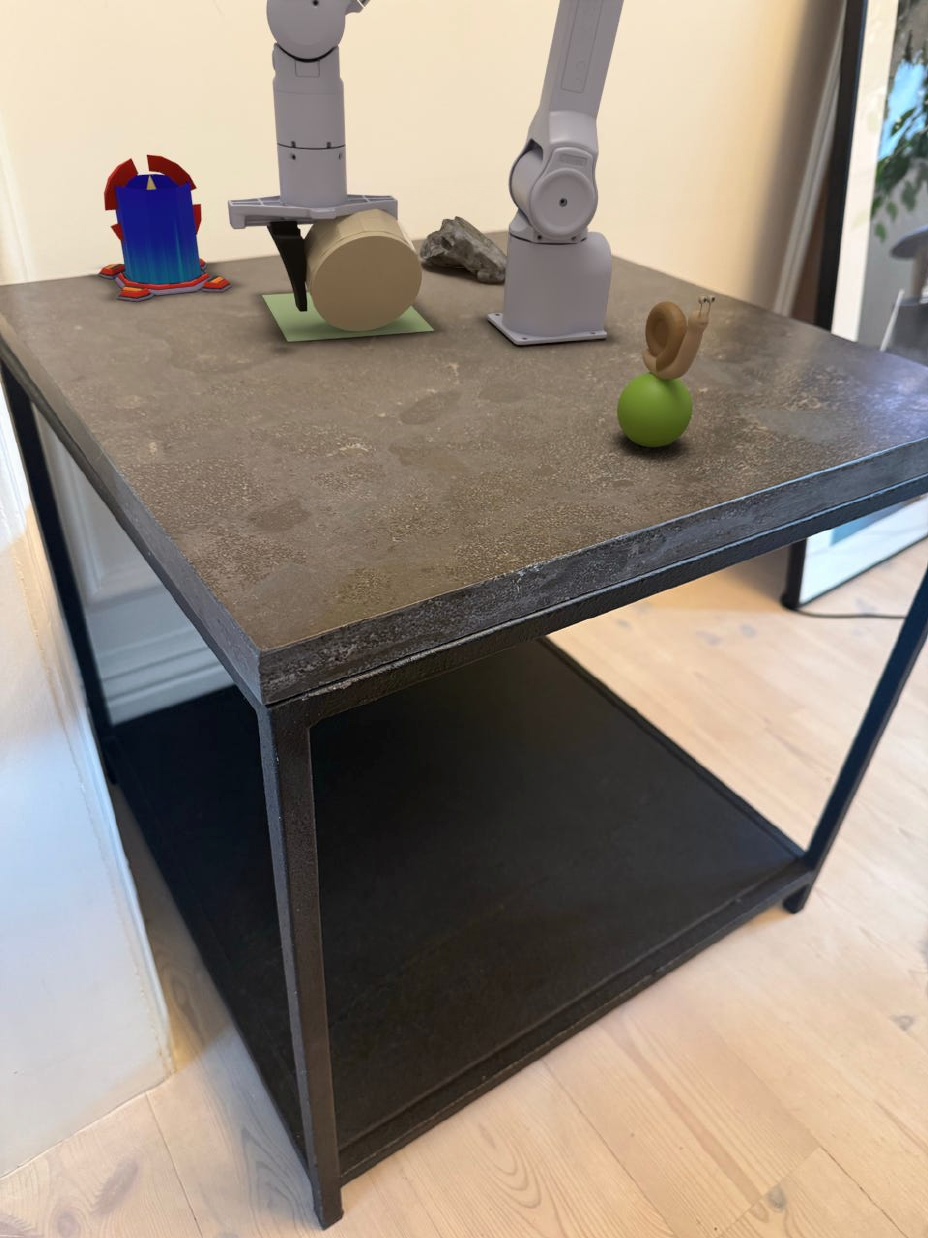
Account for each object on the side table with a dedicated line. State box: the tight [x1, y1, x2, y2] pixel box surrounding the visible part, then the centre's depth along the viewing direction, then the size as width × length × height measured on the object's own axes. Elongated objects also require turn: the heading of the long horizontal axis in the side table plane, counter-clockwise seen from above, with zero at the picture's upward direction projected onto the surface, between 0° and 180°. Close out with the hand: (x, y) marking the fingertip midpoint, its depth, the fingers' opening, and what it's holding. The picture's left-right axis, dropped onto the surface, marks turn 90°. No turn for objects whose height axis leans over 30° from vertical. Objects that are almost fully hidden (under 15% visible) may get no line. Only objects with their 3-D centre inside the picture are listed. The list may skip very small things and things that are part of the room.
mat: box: [261, 291, 435, 343], centre depth 90 cm, size 14×14×1 cm
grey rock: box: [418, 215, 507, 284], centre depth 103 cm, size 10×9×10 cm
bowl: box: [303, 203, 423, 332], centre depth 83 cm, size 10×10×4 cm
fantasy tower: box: [97, 154, 233, 303], centre depth 93 cm, size 12×12×12 cm
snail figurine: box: [616, 294, 716, 448], centre depth 65 cm, size 5×6×12 cm
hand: (319, 307), depth 84 cm, fingers closed on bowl, 3 cm apart
